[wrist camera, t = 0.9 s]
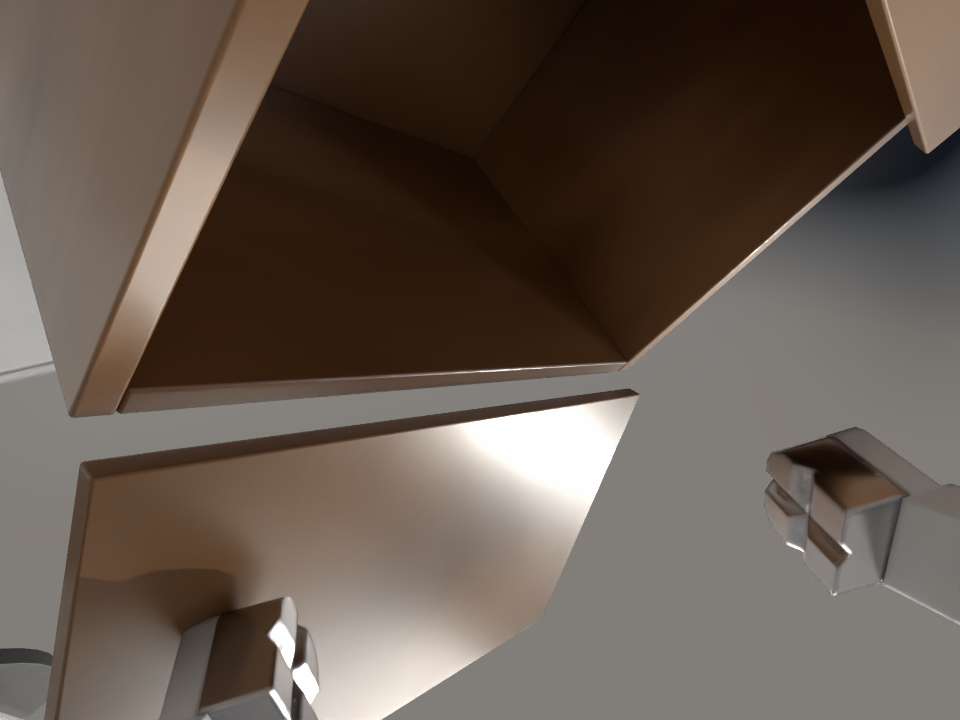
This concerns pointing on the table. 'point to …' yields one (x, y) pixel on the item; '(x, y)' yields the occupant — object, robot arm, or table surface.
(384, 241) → the cardboard box
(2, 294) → the table surface
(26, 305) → the table surface
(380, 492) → the flap
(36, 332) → the table surface
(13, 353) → the table surface
